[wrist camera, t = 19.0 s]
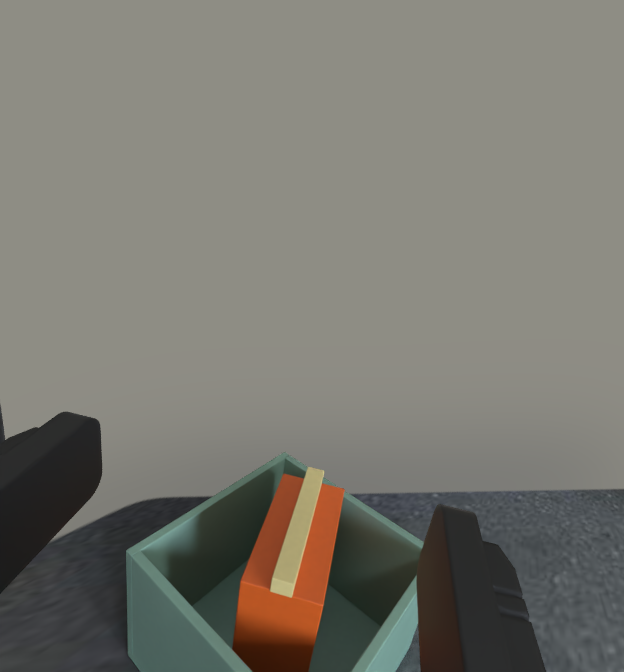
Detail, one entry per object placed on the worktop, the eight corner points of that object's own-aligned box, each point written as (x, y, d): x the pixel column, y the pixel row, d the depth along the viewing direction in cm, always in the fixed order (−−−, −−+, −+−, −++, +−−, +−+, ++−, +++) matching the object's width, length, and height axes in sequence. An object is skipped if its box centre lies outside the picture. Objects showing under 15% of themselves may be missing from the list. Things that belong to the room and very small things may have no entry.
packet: (224, 709, 26) (240, 569, 22) (267, 580, 35) (285, 460, 30) (294, 733, 26) (326, 593, 21) (321, 596, 34) (347, 476, 30)
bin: (127, 655, 29) (125, 550, 25) (271, 536, 40) (284, 451, 36) (283, 864, 21) (311, 756, 18) (409, 647, 32) (442, 553, 29)
